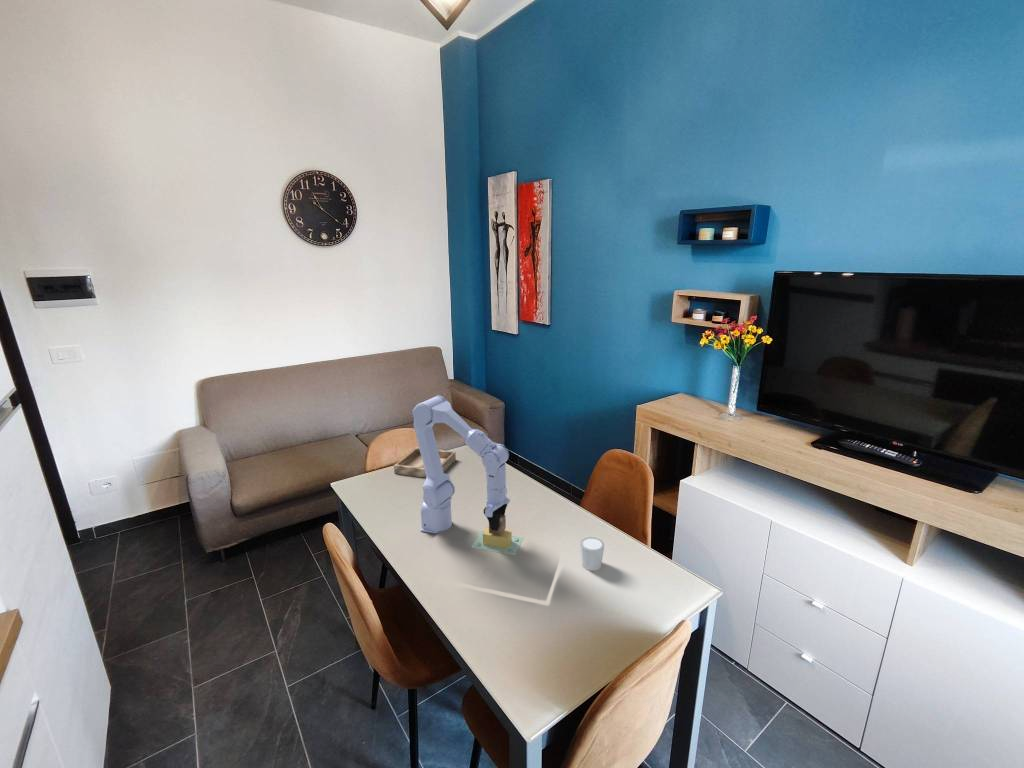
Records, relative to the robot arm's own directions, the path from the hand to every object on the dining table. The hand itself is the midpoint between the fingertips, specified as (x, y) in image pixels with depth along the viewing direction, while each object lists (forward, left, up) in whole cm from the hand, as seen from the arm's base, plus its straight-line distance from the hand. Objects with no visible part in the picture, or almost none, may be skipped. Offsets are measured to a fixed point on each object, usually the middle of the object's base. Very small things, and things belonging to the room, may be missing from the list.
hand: (497, 525), depth 144 cm
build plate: (0, 0, -7) cm, 7 cm away
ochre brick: (0, 0, -6) cm, 6 cm away
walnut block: (0, 0, -2) cm, 2 cm away
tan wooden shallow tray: (-47, +44, -7) cm, 65 cm away
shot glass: (+29, -1, -7) cm, 30 cm away
